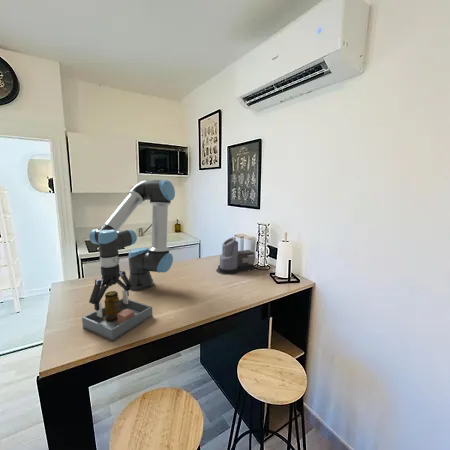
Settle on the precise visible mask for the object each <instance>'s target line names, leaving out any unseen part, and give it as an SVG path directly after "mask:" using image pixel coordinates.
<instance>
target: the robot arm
mask: <svg viewBox="0 0 450 450" xmlns="http://www.w3.org/2000/svg"><path fill="white" fill-rule="evenodd" d="M175 197H176V191H175V186H174V185H173V183H172V181H170V180H168V179H167V180H166V179H145V180H142V181H139V183H137V184H135V185H134V186H132V187H131V188H130V190H128V192H127V194H126V197H125V198H124V200H123V201H121V203H120V204H119V205H118V207H117V208H116V209H115V210H114V211H113V212H112V213H111V215H110V216H109V217H108V218H107V219H106V221H104V223H103V224H102V225H101V226H100V227H99V228H94V229H92V230H90V233H89V236H88V238H89V241H90V242H91V243H92V244H95V245H98V249H99V250H98V251H99V264H100V274H101V278H100V279H98V278H97V279H95V280H94V287H93V289H92V293H91V295H90V298H89V301H88V303H90V304H92V305H94V307H93V308H94V311H97V316H98V317H102V308H103V307H102V302H101V300H102V298H103V296H105V294H106V291H107V289H109V287H111V286H113V285H114V286H115V285H118V286H119V287H120V288H122V290H121V291H122V298H123V303H125V304H128V299H129V295H130V294H129V293H130V292H129V291H143V290H146V289H148V288H149V289H150V288H151V287H153V285H154V280H153V277H152V274H151V272H152V273H153V272H154V273H158V274H159V273H161V274H163V273H164V274H165V273H167V272H169V270H171V267H172V266H173V261H174V257H173V254H172V253H170V249H169V248H168V246H167V244H168V243H167V240H168V215H169V214H168V212H169V208H168V207H169V206H170V205H171V202H172V201H173V200H174V199H175ZM145 201H149V203H150V204H151V206H152V215H151V219H152V224H151V246H150V247H149V248H148V247H140V248H135V249H132V250H130V251H129V252H128V267H129V268H128V269H129V276H128V277H127V275H126V271H125V270H124V271H123V270H120V268H121V267H120V258H119V250H120V249H123V248H127V247H130V246H131V245H133V244H135V243H137V239H138V237H137V236H138V235H137V233H136V232H135V231H134V230H133V229H125V230H120V229H121V227H122V226H123V225H124V224H125V222H126V221H127V220H128V219H129V217H130V216H131V215H132V214H133V213H134V211H135V209H136V208H138V206H139V205H142V204H143V202H145ZM120 277H121V279H122V280H121V279H120ZM122 281H123V282H124V283H123V282H122ZM131 289H132V290H131Z"/></svg>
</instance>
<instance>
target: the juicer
mask: <svg viewBox="0 0 450 450" xmlns="http://www.w3.org/2000/svg"><path fill="white" fill-rule="evenodd" d="M221 250H222V252H221V253H222V254H220V255H219V265H218V266H217V268H216V270H215V271H216V273H218V274H220V275H225V276H226V275H236V274H238V273H243V272H249V271H248V270H250V271H254V270H253V269H257V270H258V268H257V267H256V266H255V261H256V260H255V258H256V257H255V252H254V251H252V250H250V249H245V250H239V242H238V240H236V236H233V237H230V238H228V239H226V240H225V241H224V242H223V243H222V249H221Z"/></svg>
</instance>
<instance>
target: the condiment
mask: <svg viewBox="0 0 450 450" xmlns="http://www.w3.org/2000/svg"><path fill="white" fill-rule="evenodd" d="M104 298H105V299H104V307H105V313H106V316H104V317H102V318H103V319H104V320H105V321H106V322H107V323H108V324H112V323H115V322H118V319H117V313H119V312H120V305H119V300H120V298H119V293H118V291H116V290H112V291H108V292H105V293H104Z"/></svg>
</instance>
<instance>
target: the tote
mask: <svg viewBox="0 0 450 450" xmlns="http://www.w3.org/2000/svg"><path fill="white" fill-rule="evenodd" d="M119 305H120V312H121V311H123V310H125V309H129V310H132V311H134V316H133V317H132V318H130V319H128V320H126V321H125V322H123V323H121V324H118V322H115V323H112V324H108V323H107V322H106V321H105V320H104V319H103V318H102V317H104V316H106V313H105V306H103V307H102V317H98V316H97V311H96V310H94V311H92V312H90V313H87V314H86V315H84V316H82V317H81V322H82V328H83V329H84V330H86V331H89V332H91V333H94V334H95V335H98V336H100V337H101V338H104V339H106V340H108V341H110V342H115V341H116V340H117V339H119V338H122V336H124V335H126V334H128V333H129V332H130V331H132V330H134V329H135V328H137V327H138V326H141V325H142V324H143V323H145V322H147V321H148V320H149V319H152V317H153V306H151V305H147V304H145V303H142V302H138V301H135V300H132V299H129V298H128V304H125V303H123V297H122V298H119Z"/></svg>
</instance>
